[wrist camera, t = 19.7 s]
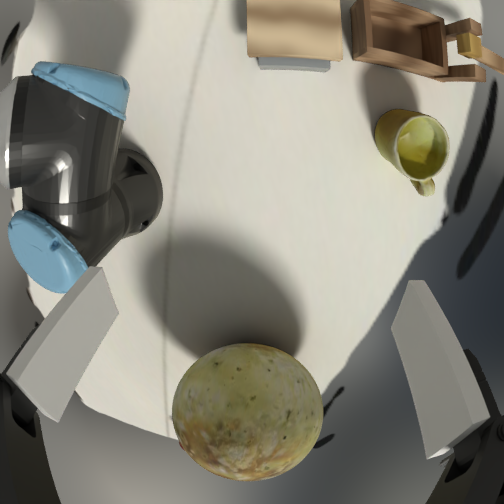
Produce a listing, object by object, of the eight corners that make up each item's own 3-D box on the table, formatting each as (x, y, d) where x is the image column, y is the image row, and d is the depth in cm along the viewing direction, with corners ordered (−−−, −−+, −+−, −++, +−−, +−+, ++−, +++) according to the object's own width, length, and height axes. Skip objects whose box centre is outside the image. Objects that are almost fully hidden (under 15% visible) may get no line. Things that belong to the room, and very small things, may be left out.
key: (457, 53, 19) (471, 51, 16) (456, 35, 17) (468, 32, 15) (512, 82, 18) (525, 83, 15) (511, 65, 16) (523, 66, 14)
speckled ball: (195, 380, 69) (169, 476, 44) (187, 302, 54) (135, 437, 28) (302, 394, 68) (301, 493, 42) (334, 320, 53) (353, 462, 27)
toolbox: (352, 60, 29) (379, 45, 19) (350, 8, 25) (373, -20, 15) (442, 82, 28) (486, 82, 18) (439, 34, 23) (480, 23, 14)
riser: (260, 69, 32) (258, 65, 28) (259, -11, 25) (256, -21, 21) (325, 72, 31) (330, 68, 27) (321, -8, 24) (325, -18, 20)
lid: (248, -16, 22) (246, -24, 19) (333, -12, 21) (337, -20, 18) (250, 58, 28) (247, 54, 25) (337, 62, 27) (342, 59, 24)
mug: (358, 104, 31) (409, 121, 23) (408, 99, 32) (458, 116, 24) (362, 181, 39) (404, 212, 31) (408, 168, 40) (450, 194, 32)
